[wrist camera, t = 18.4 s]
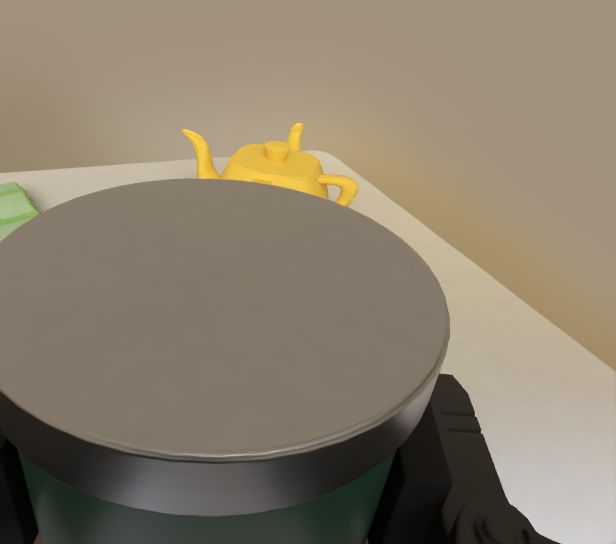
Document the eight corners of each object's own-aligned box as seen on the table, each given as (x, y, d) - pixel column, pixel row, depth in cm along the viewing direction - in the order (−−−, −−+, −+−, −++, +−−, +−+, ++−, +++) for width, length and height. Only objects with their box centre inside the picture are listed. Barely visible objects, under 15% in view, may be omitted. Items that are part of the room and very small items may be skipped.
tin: (391, 654, 13) (547, 331, 7) (125, 889, 9) (42, 600, 4) (253, 459, 17) (287, 160, 11) (32, 569, 13) (-71, 209, 8)
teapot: (290, 199, 63) (301, 117, 58) (355, 254, 54) (374, 163, 49) (180, 215, 56) (180, 123, 51) (233, 281, 47) (240, 178, 42)
